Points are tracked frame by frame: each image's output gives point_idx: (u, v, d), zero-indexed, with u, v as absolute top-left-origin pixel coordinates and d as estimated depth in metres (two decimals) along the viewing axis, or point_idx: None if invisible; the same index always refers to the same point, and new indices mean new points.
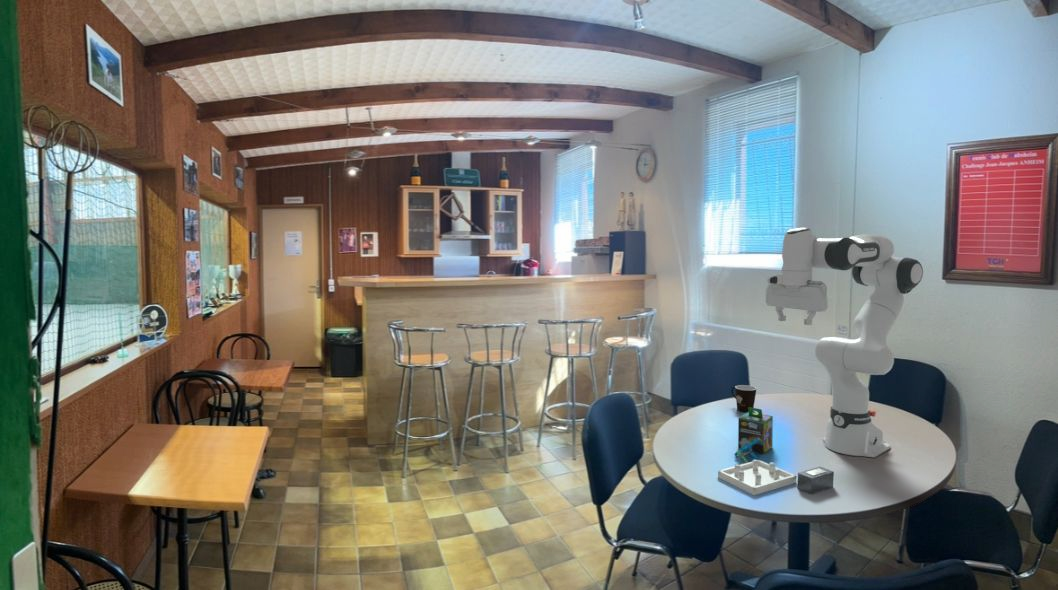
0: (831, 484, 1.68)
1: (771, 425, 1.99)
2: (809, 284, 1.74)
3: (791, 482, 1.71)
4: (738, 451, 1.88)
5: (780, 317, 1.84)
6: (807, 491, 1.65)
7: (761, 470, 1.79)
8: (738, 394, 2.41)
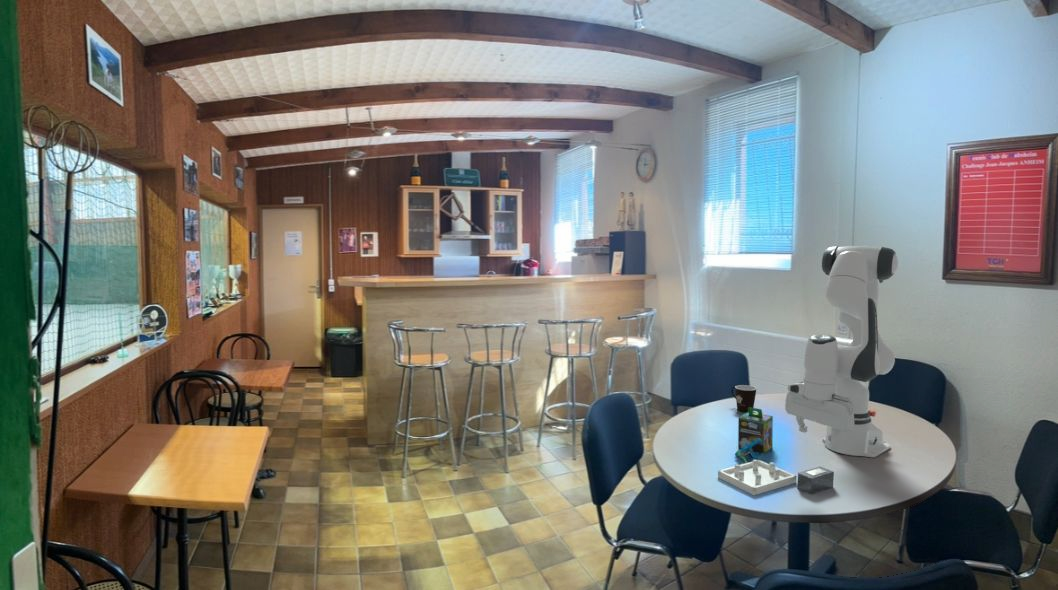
0: (831, 484, 1.68)
1: (771, 425, 1.99)
2: (834, 399, 1.61)
3: (791, 482, 1.71)
4: (738, 451, 1.88)
5: (801, 428, 1.70)
6: (807, 491, 1.65)
7: (761, 470, 1.79)
8: (738, 394, 2.41)
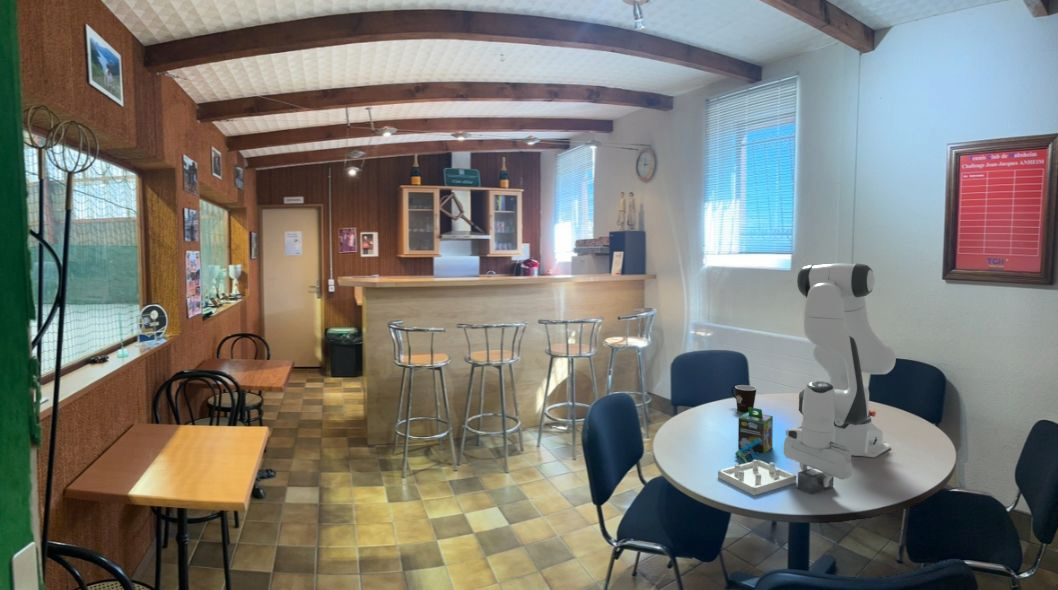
0: (831, 484, 1.68)
1: (771, 425, 1.99)
2: (832, 446, 1.62)
3: (791, 482, 1.71)
4: (738, 451, 1.88)
5: None
6: (807, 491, 1.65)
7: (761, 470, 1.79)
8: (738, 394, 2.41)
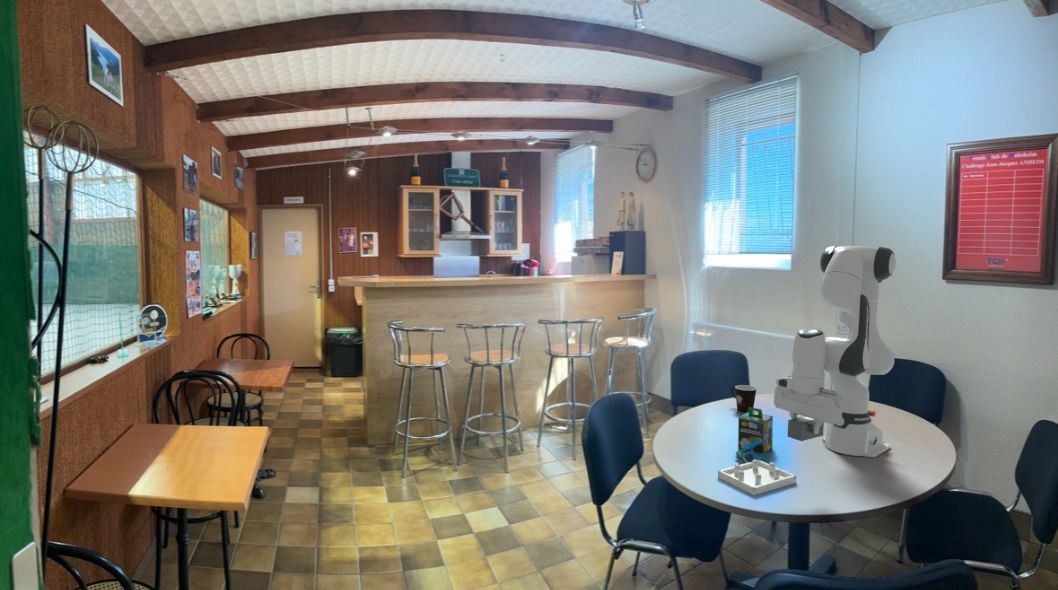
0: (821, 432, 1.68)
1: (771, 425, 1.99)
2: (822, 392, 1.62)
3: (791, 482, 1.71)
4: (738, 451, 1.87)
5: None
6: (797, 438, 1.64)
7: (761, 470, 1.79)
8: (738, 394, 2.41)
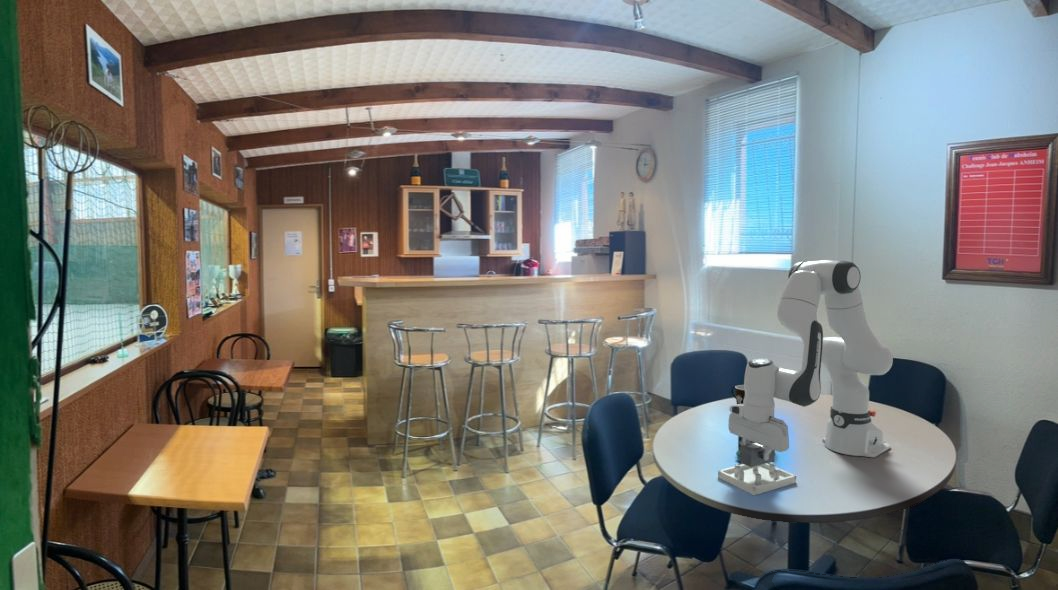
0: (772, 457, 1.73)
1: None
2: (771, 421, 1.68)
3: (791, 482, 1.71)
4: (738, 451, 1.87)
5: None
6: (747, 464, 1.70)
7: (761, 470, 1.79)
8: (738, 394, 2.41)
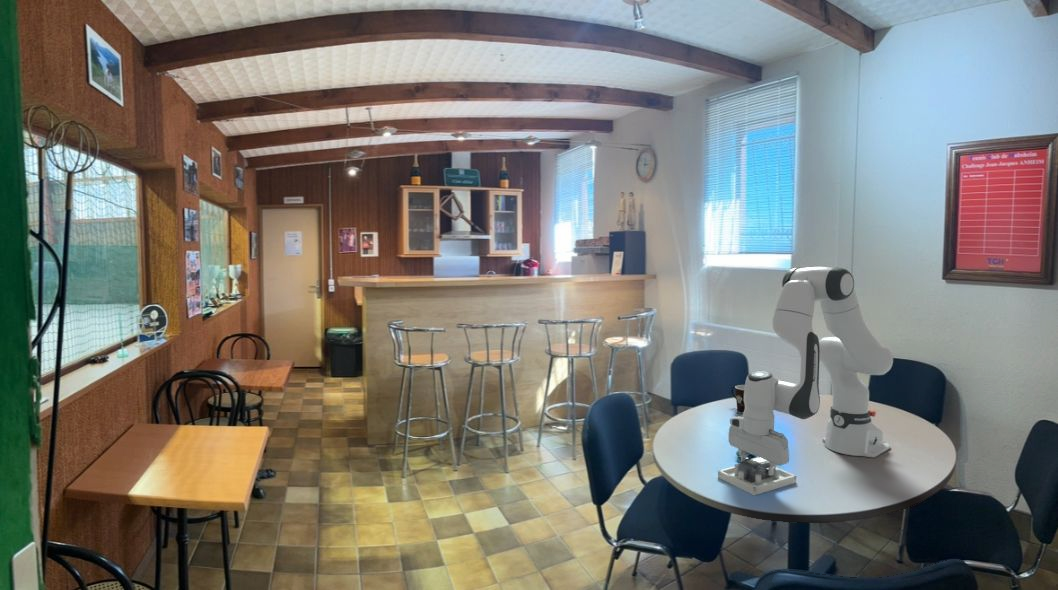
0: None
1: None
2: (770, 434, 1.68)
3: (791, 482, 1.71)
4: None
5: (743, 460, 1.77)
6: (748, 479, 1.71)
7: None
8: (738, 394, 2.41)
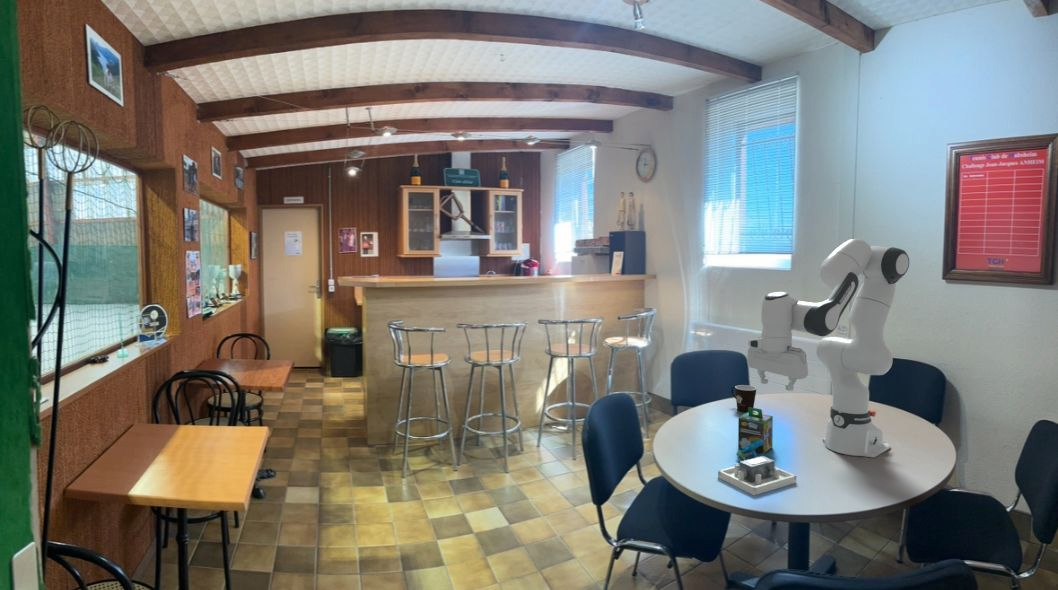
0: (772, 473, 1.74)
1: (771, 425, 1.99)
2: (789, 350, 1.73)
3: (791, 482, 1.71)
4: (738, 452, 1.87)
5: (762, 380, 1.83)
6: (748, 479, 1.71)
7: None
8: (738, 394, 2.41)
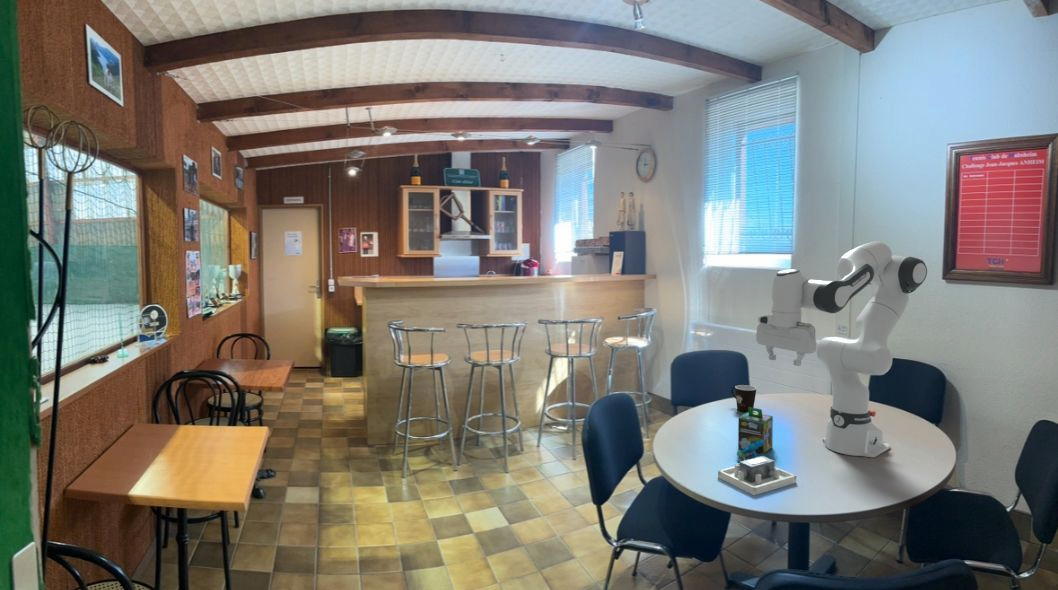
0: (772, 473, 1.74)
1: (771, 425, 1.99)
2: (798, 326, 1.77)
3: (791, 482, 1.71)
4: (738, 452, 1.87)
5: (770, 356, 1.86)
6: (748, 479, 1.71)
7: None
8: (738, 394, 2.41)
